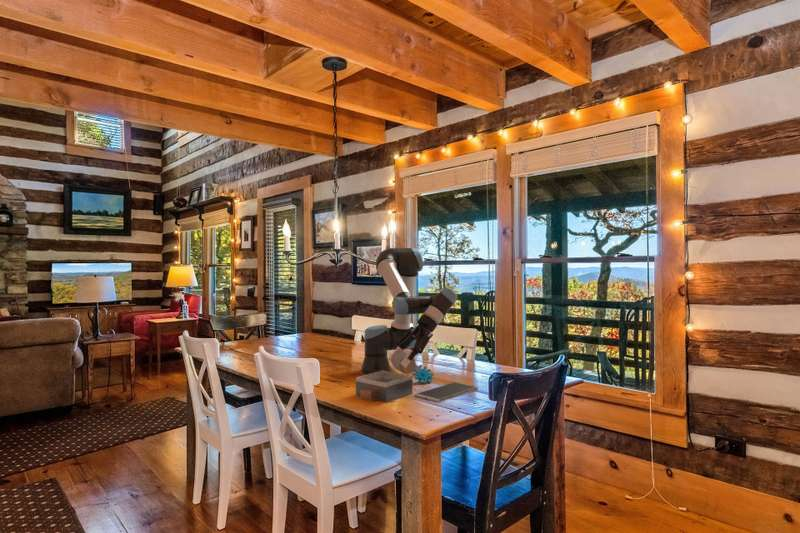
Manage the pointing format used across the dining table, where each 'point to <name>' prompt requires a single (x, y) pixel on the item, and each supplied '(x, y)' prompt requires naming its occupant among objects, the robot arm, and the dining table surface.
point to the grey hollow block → (383, 386)
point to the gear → (423, 375)
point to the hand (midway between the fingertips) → (396, 363)
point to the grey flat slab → (446, 392)
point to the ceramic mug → (399, 358)
